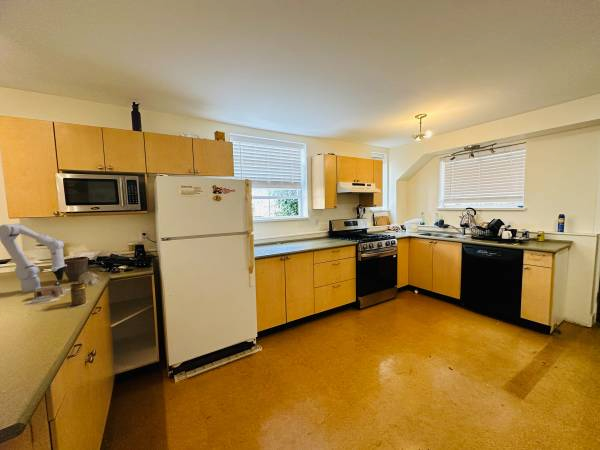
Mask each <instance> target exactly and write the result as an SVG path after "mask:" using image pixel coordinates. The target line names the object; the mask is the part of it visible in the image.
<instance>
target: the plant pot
mask: <svg viewBox="0 0 600 450" xmlns="http://www.w3.org/2000/svg"><path fill="white" fill-rule="evenodd" d="M64 263H65V265H67V266H64V267H62V268H66V269H65V271H64V274H65V276H66V278H67V279H68V281H69V282H70V283H75V282H80V281H79V277H80V276H81V275H82V274H83V273H87V268H88V264H89V257H88V256H76V257H75V256H74V257H68V258H64Z"/></svg>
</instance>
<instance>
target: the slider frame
mask: <svg viewBox="0 0 600 450" xmlns="http://www.w3.org/2000/svg"><path fill="white" fill-rule="evenodd" d="M53 286H61V285H60V280H57V281H54V282H53ZM64 289H66V286H64V285H63V286H62V291H63V290H64ZM55 296H56V291H55V294H52V295H45V296H43V293H42V294H41V295H39V296H38V297H37V298H35V299H34V300H32V299H31V300H32V301H33V303H36V302H43V301H50V300H52V299H53V298H54V297H55Z"/></svg>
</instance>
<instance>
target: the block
mask: <svg viewBox="0 0 600 450" xmlns="http://www.w3.org/2000/svg"><path fill="white" fill-rule="evenodd" d="M42 293H43V296H45V295H52V294H55V290H49V291H42Z"/></svg>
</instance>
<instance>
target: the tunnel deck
mask: <svg viewBox="0 0 600 450" xmlns="http://www.w3.org/2000/svg"><path fill="white" fill-rule="evenodd" d="M62 287H63V285H60V286H54V285H53V286H46V287H43V288H38V289H37V290H34V291H33V298H32V299H30V300H29V301H27V302H26V303H25V304H23V305H22V306H21V308H23V307H24V308H25V307H30V306H38V305H45V304H51V303H56V302H58V301H59V300H60V299H62V298H63V297H64V296H65V295H66V294H67V293H69V292H70V291H71V287H69V288H65V289H64V290H63V291H62ZM49 290H55V291H56V296H55V297H54V298H53V299H52V300H50V301H43V302H36V303H33V301H32V300H34V299H35V298H37V297H38V296H39V295H41V294H42V291H49Z"/></svg>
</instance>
